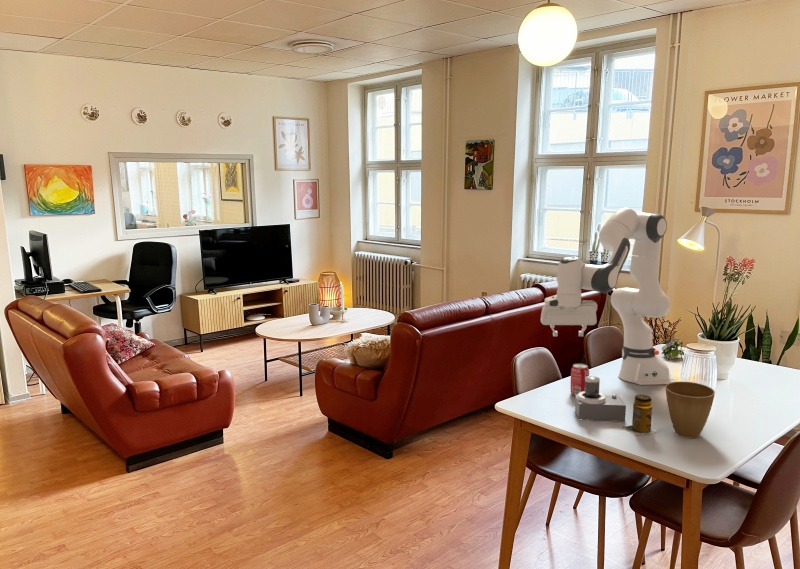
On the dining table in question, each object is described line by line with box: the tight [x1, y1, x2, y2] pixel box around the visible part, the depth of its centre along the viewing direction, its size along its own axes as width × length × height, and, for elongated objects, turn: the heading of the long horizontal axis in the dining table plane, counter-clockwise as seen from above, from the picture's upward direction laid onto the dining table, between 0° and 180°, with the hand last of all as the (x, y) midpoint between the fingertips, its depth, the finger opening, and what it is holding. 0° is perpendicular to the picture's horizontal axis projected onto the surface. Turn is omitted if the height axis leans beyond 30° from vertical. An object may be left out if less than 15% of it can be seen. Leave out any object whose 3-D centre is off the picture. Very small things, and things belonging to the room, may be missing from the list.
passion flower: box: [660, 337, 685, 361], centre depth 289 cm, size 11×11×12 cm
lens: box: [585, 375, 601, 399], centre depth 219 cm, size 5×5×8 cm
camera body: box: [574, 391, 627, 423], centre depth 219 cm, size 16×10×8 cm, turn 82°
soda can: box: [570, 363, 590, 396], centre depth 241 cm, size 7×7×12 cm
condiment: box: [621, 394, 657, 436], centre depth 206 cm, size 7×8×12 cm
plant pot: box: [664, 381, 716, 439], centre depth 201 cm, size 15×15×16 cm
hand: (568, 336), depth 228 cm, fingers open, 8 cm apart
